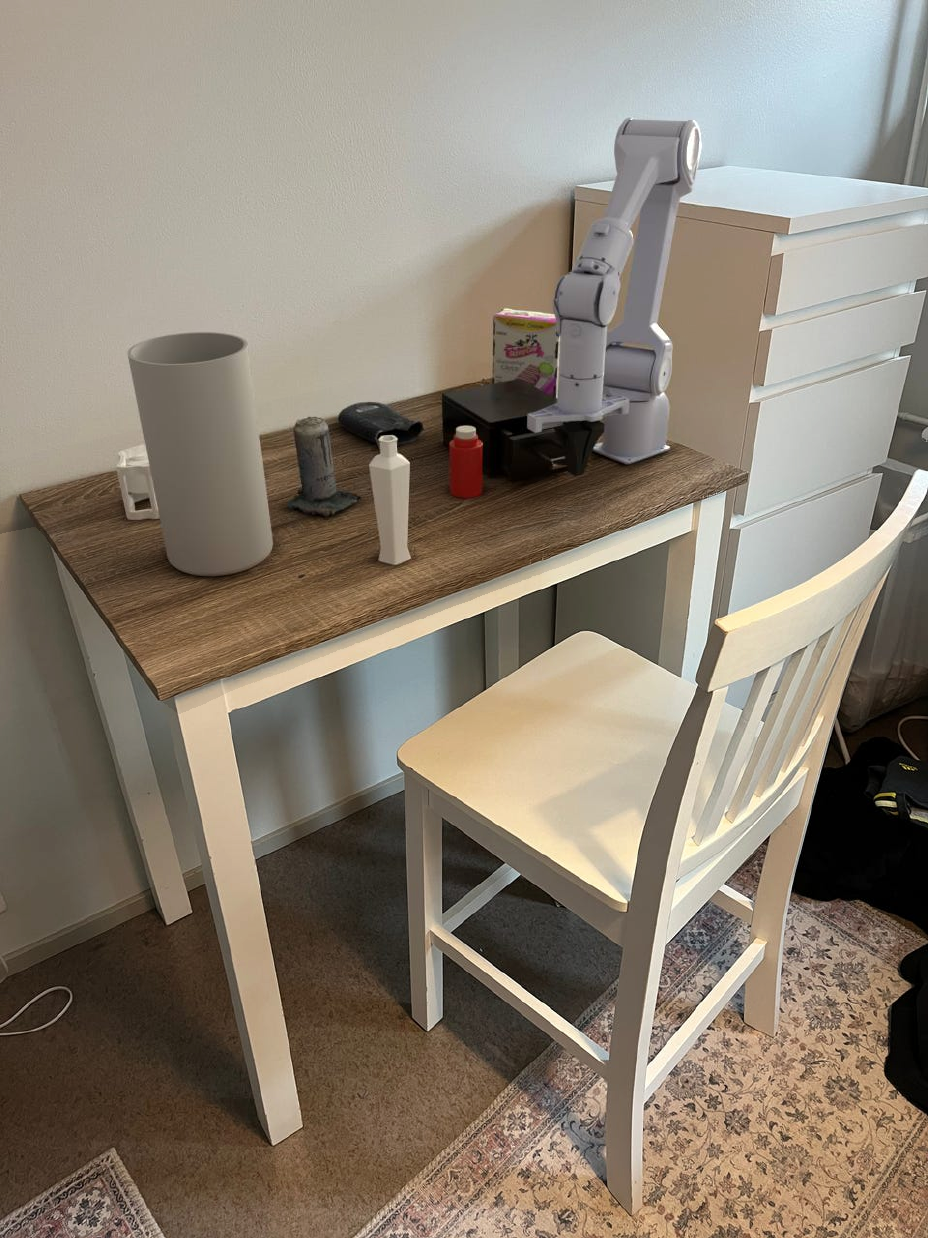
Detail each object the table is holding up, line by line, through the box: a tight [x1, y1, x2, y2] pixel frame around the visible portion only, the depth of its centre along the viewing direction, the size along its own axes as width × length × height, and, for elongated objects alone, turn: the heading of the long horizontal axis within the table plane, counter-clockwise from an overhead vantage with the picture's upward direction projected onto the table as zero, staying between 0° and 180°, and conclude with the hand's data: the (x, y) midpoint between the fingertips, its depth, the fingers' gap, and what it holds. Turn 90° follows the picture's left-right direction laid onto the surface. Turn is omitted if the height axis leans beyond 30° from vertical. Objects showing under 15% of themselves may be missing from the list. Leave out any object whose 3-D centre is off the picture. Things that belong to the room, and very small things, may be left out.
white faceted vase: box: [368, 435, 412, 566], centre depth 110 cm, size 5×4×15 cm
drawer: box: [494, 421, 588, 484], centre depth 134 cm, size 18×12×6 cm
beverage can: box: [287, 415, 363, 518], centre depth 123 cm, size 9×8×12 cm
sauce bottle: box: [449, 426, 483, 499], centre depth 128 cm, size 4×4×9 cm
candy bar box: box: [491, 308, 560, 399], centre depth 151 cm, size 11×5×16 cm, turn 66°
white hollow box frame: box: [115, 443, 160, 521], centre depth 128 cm, size 20×11×7 cm, turn 123°
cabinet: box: [441, 379, 557, 478], centre depth 140 cm, size 15×14×8 cm
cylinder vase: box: [127, 331, 274, 577], centre depth 108 cm, size 12×12×25 cm
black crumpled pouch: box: [337, 401, 425, 450], centre depth 149 cm, size 9×6×15 cm
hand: (575, 473), depth 127 cm, fingers closed, pressing on drawer
